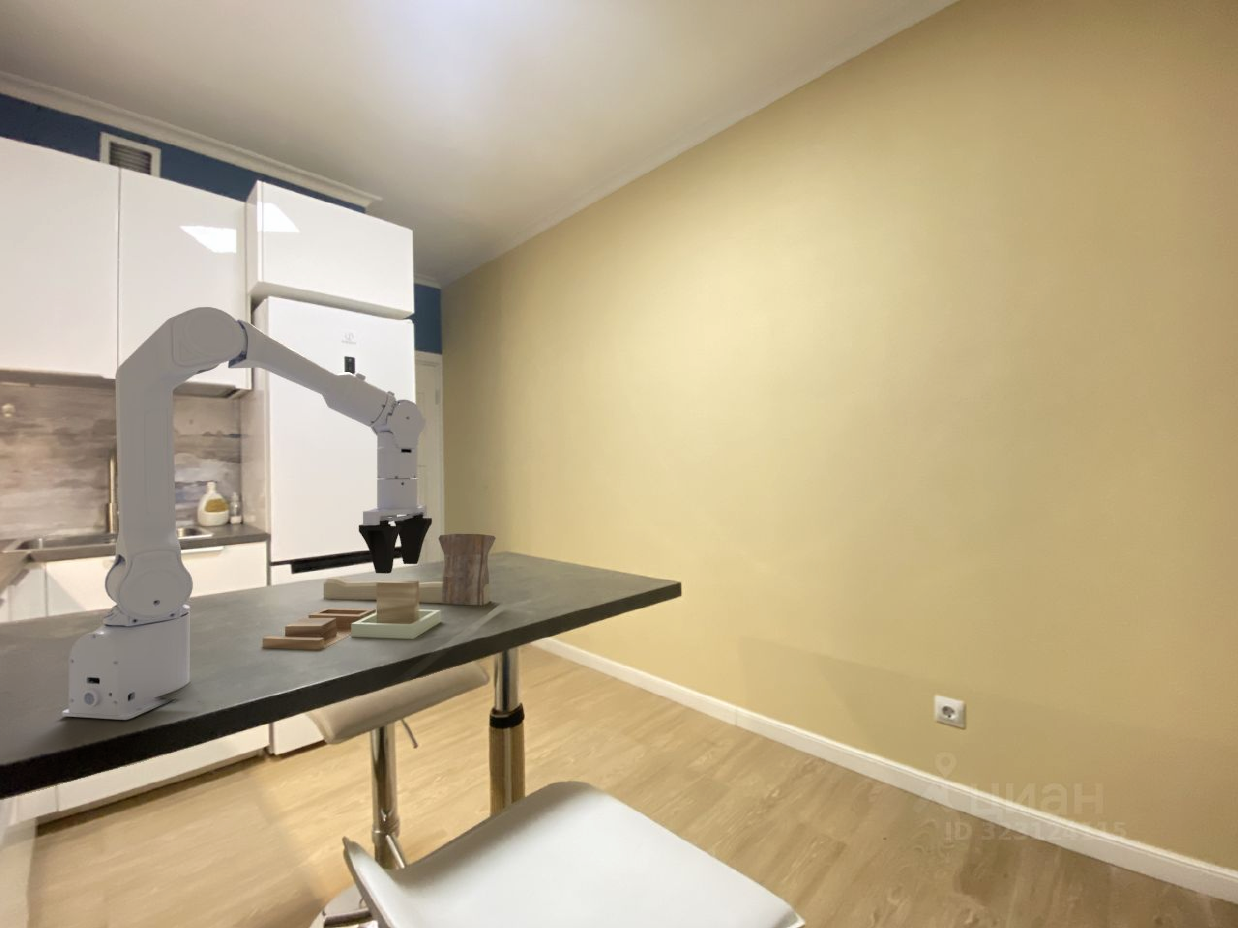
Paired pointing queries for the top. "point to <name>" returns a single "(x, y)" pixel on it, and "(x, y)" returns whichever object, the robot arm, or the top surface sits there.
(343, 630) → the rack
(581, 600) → the top surface
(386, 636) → the tray
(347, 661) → the top surface
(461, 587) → the hand axe
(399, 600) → the upright wooden block
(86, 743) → the top surface
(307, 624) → the offcut top
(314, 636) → the offcut low
